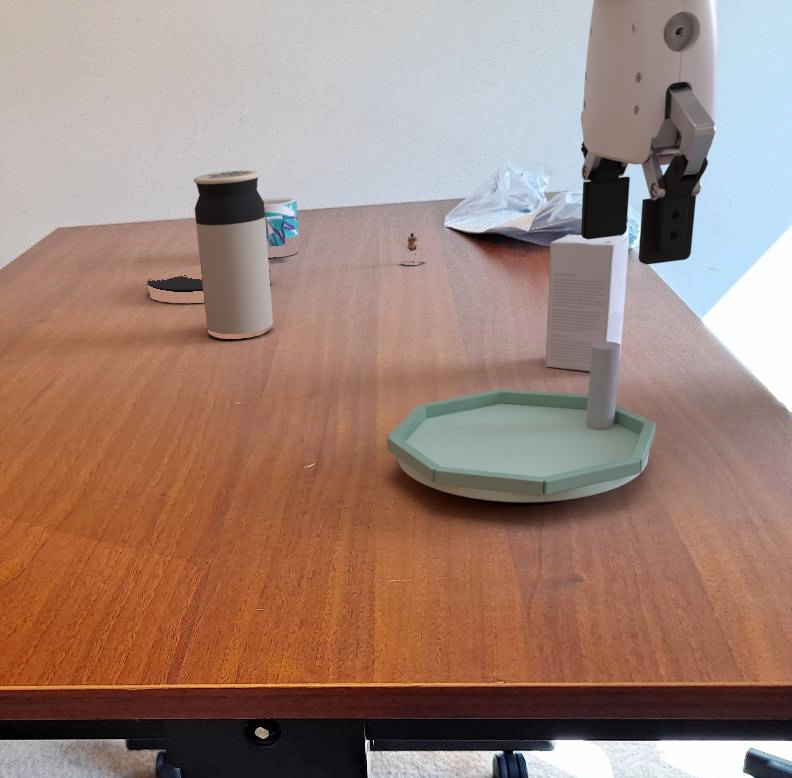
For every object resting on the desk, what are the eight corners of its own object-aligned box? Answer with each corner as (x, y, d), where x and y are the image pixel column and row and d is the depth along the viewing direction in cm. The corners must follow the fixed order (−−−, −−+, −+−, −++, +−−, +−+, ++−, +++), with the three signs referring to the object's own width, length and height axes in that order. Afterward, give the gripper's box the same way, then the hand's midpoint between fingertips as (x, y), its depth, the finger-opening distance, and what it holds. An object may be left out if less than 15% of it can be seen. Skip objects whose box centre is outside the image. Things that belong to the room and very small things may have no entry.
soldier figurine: (421, 263, 145) (421, 232, 143) (416, 264, 144) (416, 234, 142) (410, 262, 147) (409, 231, 145) (405, 263, 146) (404, 233, 144)
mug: (297, 247, 165) (294, 196, 162) (304, 260, 155) (301, 205, 151) (249, 252, 165) (244, 200, 162) (253, 265, 155) (248, 210, 151)
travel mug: (285, 326, 118) (275, 169, 110) (250, 343, 113) (235, 179, 105) (232, 322, 122) (217, 170, 115) (194, 338, 117) (177, 180, 109)
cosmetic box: (621, 362, 95) (632, 235, 89) (603, 374, 92) (614, 244, 86) (561, 355, 98) (568, 233, 93) (542, 367, 95) (549, 241, 90)
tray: (705, 469, 67) (718, 371, 64) (471, 523, 62) (473, 420, 59) (553, 398, 82) (558, 316, 79) (358, 437, 78) (355, 352, 75)
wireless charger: (294, 278, 143) (293, 264, 142) (223, 307, 130) (222, 292, 129) (198, 273, 152) (196, 260, 151) (123, 300, 140) (121, 286, 139)
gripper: (791, -60, 52) (752, 265, 60) (648, -33, 67) (631, 222, 75) (653, -44, 52) (631, 280, 59) (541, -20, 67) (536, 235, 75)
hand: (631, 248), depth 67 cm, fingers open, 9 cm apart
